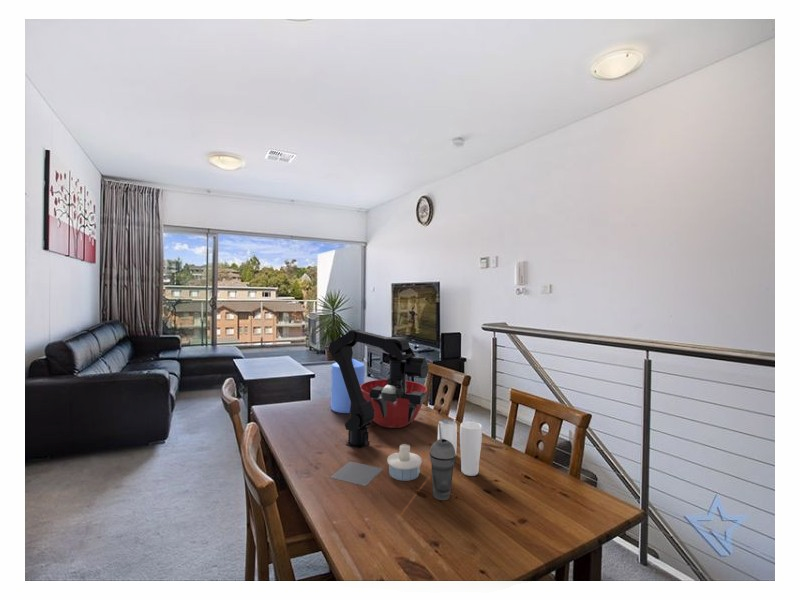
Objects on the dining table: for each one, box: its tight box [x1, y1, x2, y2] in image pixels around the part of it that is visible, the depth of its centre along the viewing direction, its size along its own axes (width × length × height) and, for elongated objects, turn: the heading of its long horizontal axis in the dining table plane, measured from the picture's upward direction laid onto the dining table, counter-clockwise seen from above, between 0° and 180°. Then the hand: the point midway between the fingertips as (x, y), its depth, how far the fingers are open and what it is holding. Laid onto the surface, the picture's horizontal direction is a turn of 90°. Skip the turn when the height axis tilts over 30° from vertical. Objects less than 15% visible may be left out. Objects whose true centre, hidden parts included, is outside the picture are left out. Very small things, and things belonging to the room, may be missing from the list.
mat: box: [329, 460, 384, 487], centre depth 119 cm, size 12×12×1 cm
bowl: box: [388, 464, 421, 482], centre depth 119 cm, size 9×9×4 cm
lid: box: [386, 443, 422, 470], centre depth 119 cm, size 10×10×5 cm
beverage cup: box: [429, 422, 457, 501], centre depth 107 cm, size 7×7×20 cm
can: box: [437, 418, 458, 455], centre depth 133 cm, size 6×6×12 cm
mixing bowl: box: [360, 378, 428, 429], centre depth 165 cm, size 28×28×16 cm
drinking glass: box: [459, 421, 483, 477], centre depth 121 cm, size 7×7×15 cm
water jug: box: [330, 357, 366, 414], centre depth 183 cm, size 16×16×28 cm
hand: (396, 420), depth 133 cm, fingers open, 9 cm apart
